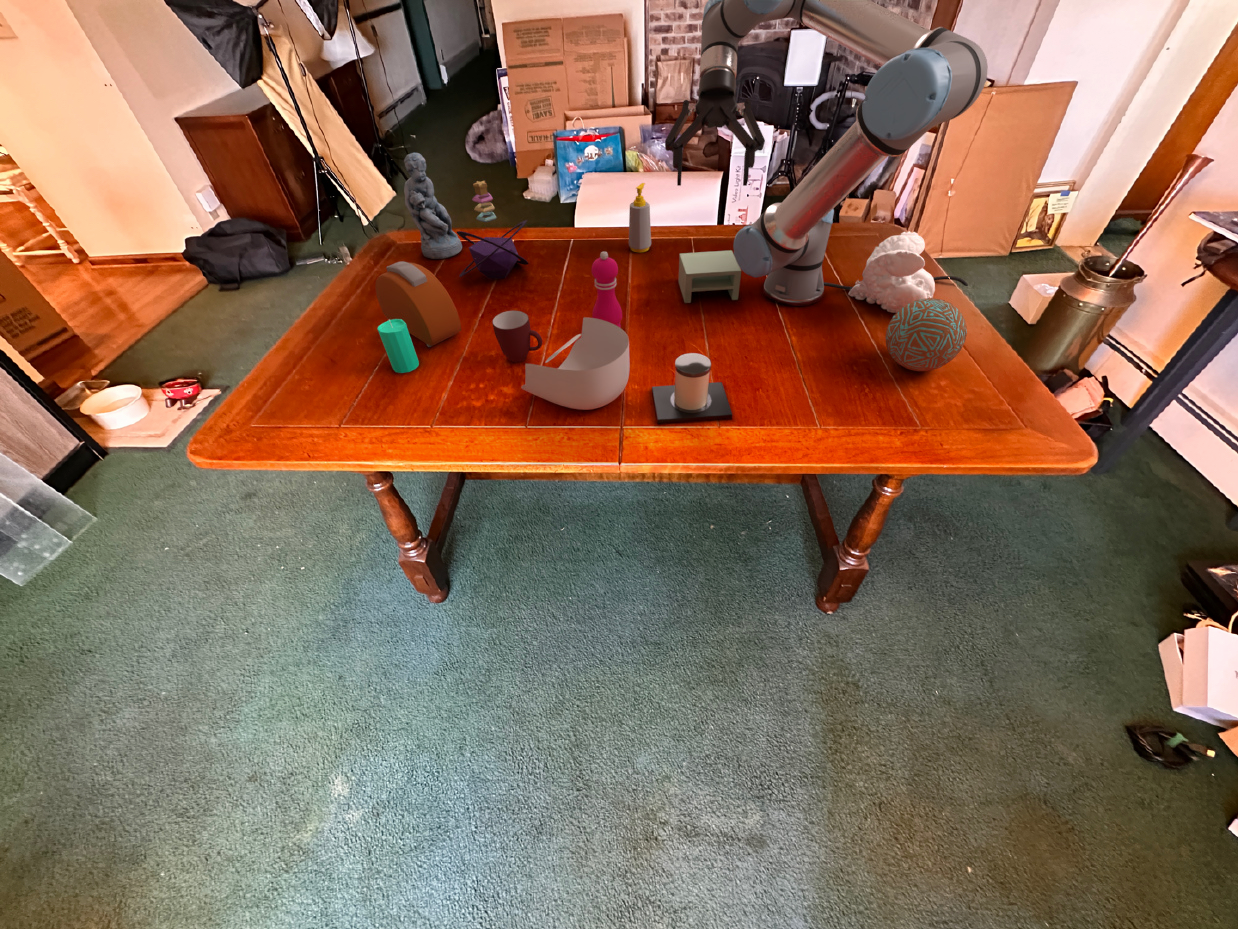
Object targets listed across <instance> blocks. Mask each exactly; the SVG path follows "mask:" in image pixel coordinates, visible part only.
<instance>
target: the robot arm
mask: <svg viewBox="0 0 1238 929" xmlns="http://www.w3.org/2000/svg"><path fill="white" fill-rule="evenodd" d="M785 19H793V20H794V21H796V22H798V23H800V24H801V25H804V26H806V27H808V28H810V29H812V30H813V31H815V32H817V33H819V34H821V35H823V36H824V37H826V38H828V39H830V40H832V41H833V42H835V43H837V44H838V45H841V46H842V47H844V48H845V49H848V50H850V51H851V52H853V53H855V54H857V55H858V56H861V57H862V58H864V59H866V60H867V61H869V62H871V63H873V64H874V65H876V66H879V68H878V69H877V71H876V72H875V73H874V74H873V76H872V78H871V79H870V80H869V82H868V84H867V85H866V89H865V92H864V99H863V100H862V101H861V102H860V103H859V105H858V106H857V108H856V112H855V122H853V124H852V125H851V126H850V127H849V128H848V129H847V130H846V131H845V133H844V134H842V136H841V137H839V139H838V140H837V141H836V142H835V143H834V145H833V146H832V147H830V149H829V150H828V151H827V152H826V153H825V155H824V156H823V157H822V158H821V159H820V160H819V161H818V162H817V163H816V165H814V167H813V168H812V169H811V170H810V171H809V172H808V173H807V174H806V175H805V177H804V178H803V179H802V180H801V181H800V182H798V184H797V185H796V186H795V188H793V190H792V191H791V192H790V193H789V194H788V195H787V196H786V198H785V199H783V201H782V202H775V203H772V204H770V205H769V206H768V207H767V208H766V209H765V210H764V211H763V213H762V214H761V215H760V216H759V217H758V218H757V219H756V220H755V221H754V222H752V224H748V225H745V226H743V227H742V228H741V229H739V230H738V232H737V233H736V234H735V236H734V239H733V249H734V250H733V254H734V256H735V258H736V261H737V263H738V265H739V267H740V269H741V272H743V273H744V274H746V275H747V276H748V277H749V276H750V277H752V278H761V277H764V276H766V278H765V281H764V283H763V288H762V289H763V290H762V291H763V294H764V295H765V297H766V298H767V299H769V300H770V301H772V302H774V303H777V304H780V305H783V306H789V307H804V306H810V305H814V304H815V303H818V302H819V301H820V300H821V299H822V298H823V295H824V291H825V287H829V288H835V289H839V290H846V291H850V290H851V289H852V288H853V287H854V286H847V285H842V284H837V283H832V282H825V281H824V275H823V274H824V273H823V264H824V258H825V255H826V250H827V246H828V242H829V238H830V235H831V234H830V233H831V230H832V226H833V222H834V220H833V219H834V214H835V209H834V208H835V207H836V206H838V205H839V204H840V203H841V202H842V201H843V200H844V199H845V198H847V196H848V195H849V194H850V193H851V192H852V191H854V189H856V187H857V186H859V184H861V183H862V182H863V181H864V180H865V179H866V178H867V177H868V176H869V175H870V174H871V173H872V172H873V171H874V170H875V169H876V168H878V166H880V164H882V163H883V162H884V161H885V160H886V159H887V158H888V157H893V158H894V157H900V156H902V155H903V154H904V153H906V152H907V151H908V150H909V149H910V148H911V147H912V146H913V145H915V144H916V143H917V142H918V141H919V140H920V139H921V138H922V137H923V136H924V135H925V134H926V133H927V132H929V131H930V130H931V129H932V128H934V127H936V126H937V125H941V124H943V123H946V122H950V121H951V120H954V119H957V118H958V117H960V116H961V115H963V114H964V113H965V112H967V111H968V110H969V109H970V108H971V107H972V106H973V105H974V104H975V102H977V100H978V98H979V97H980V95H981V93H982V91H983V90H984V87H985V84H986V81H987V78H988V69H989V68H988V60H987V57H986V54H985V52H984V50H983V49H982V48H981V46H980V45H978V44H977V43H976V42H975V41H973V40H971V39H969V38H967V37H965V36H963V35H960V34H958V33H956V32H954V31H952V30H950V29H948V28H945V27H943V26H938V27H936V28H934V29H932V30H931V29H929V28H928V27H925V26H923V25H921V24H919V23H916V22H915V21H913V20H912V19H910V18H907V17H905V16H903V15H901V14H899V13H898V12H897V13H896V12H895V11H893V10H890V9H889V8H886V7H885V6H882V5H880V4H879V3H876V2H874V1H872V0H707V2H706V3H705V5H704V8H703V15H702V21H701V25H700V26H701V28H700V29H701V38H700V40H701V41H700V60H699V61H700V62H699V82H698V96H697V97H698V98H697V99H698V100H697V102H696V103H694V102H693V103H692V102H690V101H689V99H684V100H683V102H682V107H681V111H680V113H679V114H678V116H677V118H676V120H675V121H674V124H673V125H672V126H671V129H670V131H669V133H668V135H667V137H666V138H665V140H664V149H665V151H666V152H672V167H673V169H677V175H676V176H677V180H676V183H677V184H676V185H677V186H678V187H679V186H680V187H681V186H682V174H683V173H682V172H683V157H684V156H683V153H684V151H683V150H684V148H685V147H686V146H687V144H688V143H689V142H690V141H691V140H692V139H693V138H694V137H695V136H696V134H697V133H698V132H699V131H701V130H702V129H704V127H707V129H711V128H718V129H719V128H720V129H722V128H723V127H725V128H727V129H728V131H731V133H732V134H733V136H735V138H736V139H737V141H739V143H740V144H741V145H742V146H743V147H744V149H745V151H744V159H743V177H742V186H743V187H745V186H748V182H749V174H750V173H749V171H750V169H753V168H754V166H755V163H756V162H755V161H756V152H757V151H759V152H760V151H762V150H764V146H765V143H766V139H765V137H764V134H763V133H762V130H761V128H760V126H759V124H758V122H757V120H756V118H755V115H754V113H753V111H752V105H751V99H749V98H746V99H745V100H744V102H738V103H737V101H736V87H737V73H738V72H737V71H738V70H737V69H738V50H739V49H738V48H739V43H740V42H741V40H743V39H744V38H745V37H747V36H748V34H750V33H751V32H752V31H753V30H754V29H755V28H757V26H758V25H760V24H761V23H766V22H772V21H777V20H785ZM694 112H695V114H696V117H695V118H694V121H692V123H690V124H689V125H688V127H687V128H686V129H685V130H684V131H683V133H682V134H680V133H681V131H682V130H683V128H684V126H685V124H686V123H687V121H688V118H689V117H690V116H692V115H693V113H694ZM737 112H739V114H740V116H742V117H743V121H744V123H745V125H746V127H747V129H748V131H749V132H747V130H746V129H745V128H744V126H743V125H742V124H741V122H740V121H739V120H738V119H737V116H736V115H735V114H736V113H737ZM749 133H750V134H749ZM679 135H680V136H679ZM678 136H679V137H678ZM932 277H933V279H934V282H935V281H943V280H944V281H945V280H948V281H949V280H950V281H951V280H952V281H956V282H959V283H961V284H962V285H963V286H964V287H969V284H968V282H967V281H966V280H965V279H963V278H961V277H958V276H954V275H942V276H932ZM948 277H950V279H949V278H948Z"/></svg>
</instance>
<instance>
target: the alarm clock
mask: <svg viewBox="0 0 1238 929" xmlns="http://www.w3.org/2000/svg"><path fill="white" fill-rule="evenodd" d="M375 294H376V299H377V302H378V304H379V305H378V306H379V308H380V310H381V312H382V314H383V316H384V317H385V318H386V319H387V320H389V319H390V320H393V319H402V320H403V321H404V322H405V323H406V326H407V328H408V331H409V334H411V336H413V337H415V338H417V339H418V340H420V341H421V342H423V343H425V344H426V347H428V348H431V347H433V346H435V345H437V344H439V343H442V342H443V341H445V340H447V339H449V338H452V337H453V336H455V335H456V334H458V333H460V332H461V331H462V330H463V329H462V323H461V319H460V316H459V313H458V310H457V308H456V305H455V303H454V302H453V299H452V298H451V295H449V293H448V291H447V289H446V288H445V286H443V283H441V282H440V280H439V279H438V278H437V277H436V276H435V275H434V274H433V272H432V271H430V270H429V269H427V268H426V267H424V266H423V265H421V264H418V263H415V262H407V261H397V262H394V263H392V264H389V265H387V266H386V272H384V273H382V274H380V275H379V276H378V277H377V278H376V280H375Z"/></svg>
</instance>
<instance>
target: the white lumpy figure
mask: <svg viewBox="0 0 1238 929" xmlns="http://www.w3.org/2000/svg"><path fill="white" fill-rule="evenodd" d="M925 248H926V243H925V239H924V238H923V237H922V236H921V235H919V233H917V232H915V231H913V232H911V231H910V230H909V231H903V232H901V233H900V234H898V235H897V234H896V235H891V236H889V237H887V238H886V239H885V238H884V240H883V241H881V242H879V243H878V246H875V247H874V248H873V251H871V252H872V253H871V255H870V256H869V257H868V259H867V260H866V264H865V267H864V269H863V272H862V280H859V279H857V280H856V281H855V285H854V286H852V287H853V288H852V289H851V290H849V292H848V294H847V295H848V296H850V297H852V298H853V297H854V298H855V299H856V300H858V301H864V300H865V301H866V302H867V304H870V305H871V304H872V305H873V304H877V305H880V308H881V309H883V310H886V311H887V312H888V313H891V314H896V313H897V312H898V311H899V310H900V309H901V308H902V307H904V306H905V305H907V304H909V303H911V302H913V301H916V300H919V299H925V298H934V294H935V291H936V283H935V281H934V279H933V277H934V276H933V275H932V274H931V273H929V271H926V269H924V267H925V266H926V261H925V259H924V258H923V257H922V256H921V254H922V253H923V252H924V251H925Z"/></svg>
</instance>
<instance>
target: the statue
mask: <svg viewBox="0 0 1238 929" xmlns="http://www.w3.org/2000/svg"><path fill="white" fill-rule="evenodd" d="M403 162H404V167H405V169H406V172H408V174H409V176H410V177H409V178H408V179H406V181H405V183H404V187H403V191H404V205H405V207H406V209H407V210H408V211H409V213H410V217H412V221H413V223H414V225H415V227H416V228H417V229H418V231H419V233H420V243H421V245H420V249H421V252H422V255H423V256H424V257H425V258H426V259H430V260H443V259H449V258H451V257H454V256H457V254H459V253H460V252H461V251H462V250H463V244H462V242H461V239H460V238H459V235H458V234H457V232H455V231H453V227H452V226H453V225H452V223H453V222H452V219H451V216H450V214H449V213H448V211H447V209H446V207H445V206H444V205H443V204H441V203H440V202H438V199H437V198H436V196H435V189H434V188H435V187H434V183H433V181H432V179H431V178H429V177H428V176H427V173H426V171H427V161H426V159H425V157H423V155H422V154H421V153H419V152H411V153H409V154H407V155H406V156H405V157H404V159H403Z"/></svg>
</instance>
